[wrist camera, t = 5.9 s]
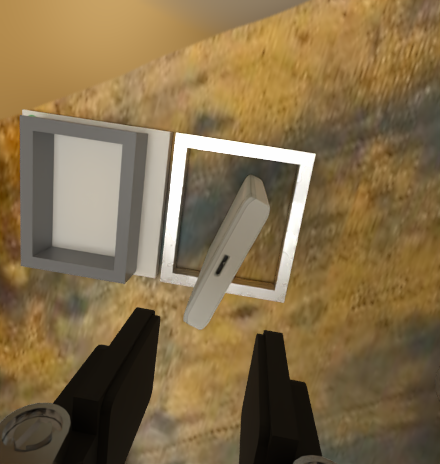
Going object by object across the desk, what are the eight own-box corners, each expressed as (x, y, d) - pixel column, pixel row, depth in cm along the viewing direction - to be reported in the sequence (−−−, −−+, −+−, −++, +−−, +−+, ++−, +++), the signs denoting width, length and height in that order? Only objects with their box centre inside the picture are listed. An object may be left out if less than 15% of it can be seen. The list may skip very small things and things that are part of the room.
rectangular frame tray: (312, 153, 29) (315, 153, 27) (282, 295, 32) (284, 302, 31) (179, 133, 29) (176, 132, 28) (164, 275, 33) (160, 281, 31)
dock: (172, 132, 29) (160, 130, 25) (157, 274, 33) (145, 291, 29) (29, 110, 30) (-3, 105, 26) (29, 252, 33) (0, 266, 29)
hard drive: (206, 252, 32) (178, 319, 20) (248, 172, 30) (245, 192, 18) (222, 261, 32) (204, 332, 20) (265, 181, 30) (274, 207, 18)
